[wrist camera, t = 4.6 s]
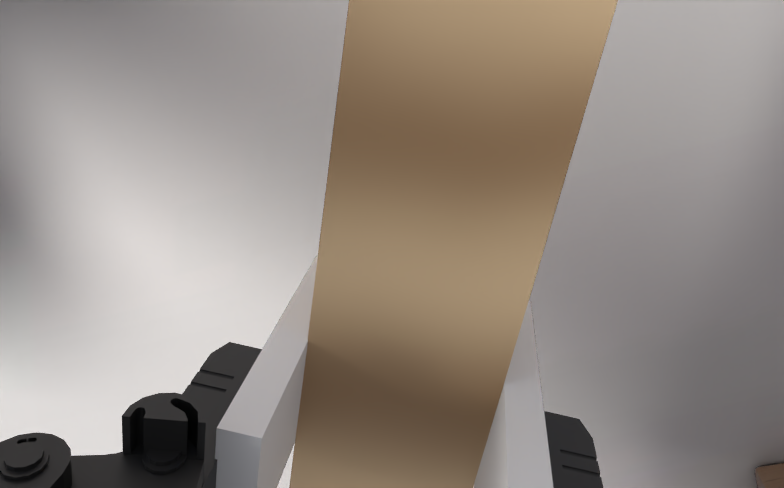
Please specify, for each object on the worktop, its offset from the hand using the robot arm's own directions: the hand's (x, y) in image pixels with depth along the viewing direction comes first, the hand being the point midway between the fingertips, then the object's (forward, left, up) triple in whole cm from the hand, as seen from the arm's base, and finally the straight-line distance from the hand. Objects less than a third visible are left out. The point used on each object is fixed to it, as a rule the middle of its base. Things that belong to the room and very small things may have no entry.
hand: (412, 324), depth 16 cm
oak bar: (0, 0, -1) cm, 1 cm away
